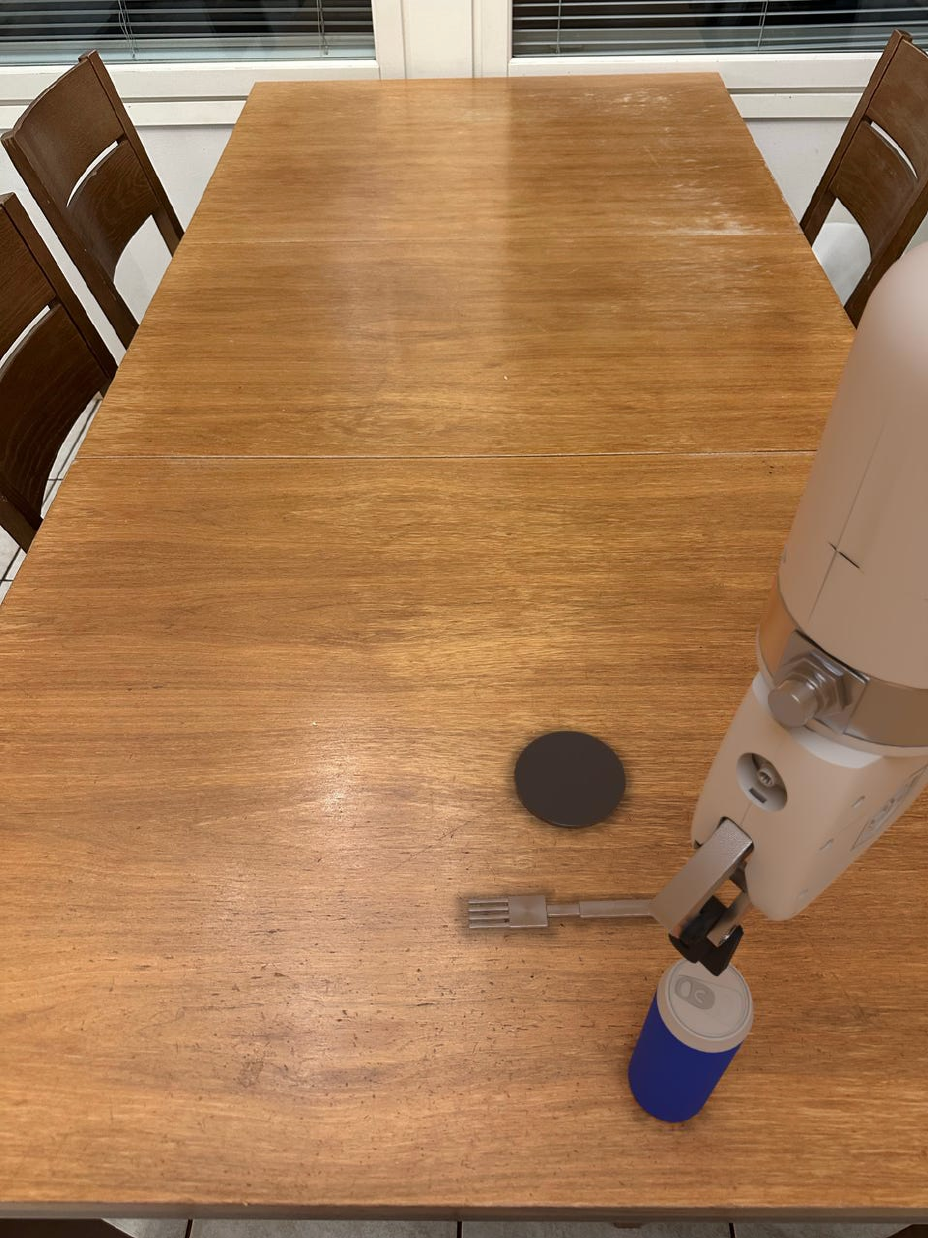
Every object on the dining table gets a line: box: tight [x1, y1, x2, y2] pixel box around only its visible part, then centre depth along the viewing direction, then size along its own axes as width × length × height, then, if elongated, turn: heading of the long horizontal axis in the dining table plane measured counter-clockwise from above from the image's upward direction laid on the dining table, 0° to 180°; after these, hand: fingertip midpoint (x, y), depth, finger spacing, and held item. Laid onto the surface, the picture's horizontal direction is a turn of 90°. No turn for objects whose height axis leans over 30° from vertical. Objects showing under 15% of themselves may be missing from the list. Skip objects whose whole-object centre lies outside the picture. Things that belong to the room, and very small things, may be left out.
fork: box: [467, 894, 654, 930], centre depth 69 cm, size 18×2×1 cm, turn 92°
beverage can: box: [627, 957, 755, 1123], centre depth 56 cm, size 5×5×15 cm
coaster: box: [513, 730, 627, 829], centre depth 77 cm, size 9×9×1 cm
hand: (764, 880), depth 43 cm, fingers open, 9 cm apart
